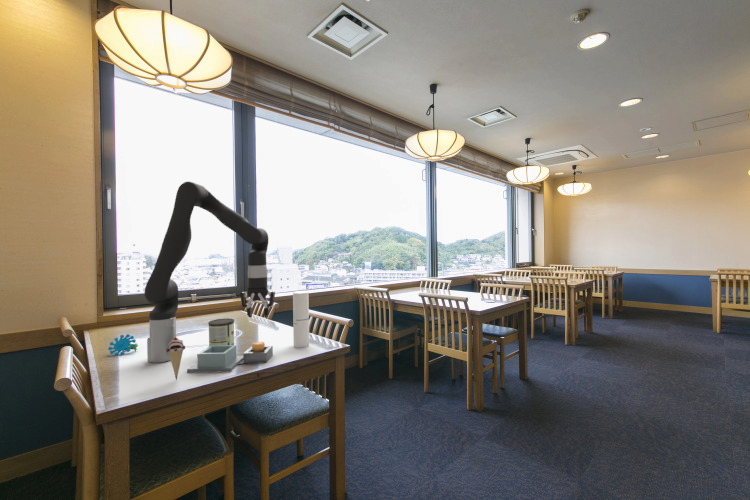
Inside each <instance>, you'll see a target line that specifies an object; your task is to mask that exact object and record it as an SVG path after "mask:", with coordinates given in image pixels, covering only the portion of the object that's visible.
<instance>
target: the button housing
mask: <svg viewBox="0 0 750 500" xmlns="http://www.w3.org/2000/svg"><path fill="white" fill-rule="evenodd" d="M273 347H274V346H273V345H265V350H264V351H263V352H252V346H250V347H249V348H247V350H244V352H243V353H242V354H243V355H242V356H243V358H244V360H243V364H265V363H267V362H268V361H269V360H271V358H272V357H273V355H274V353H273V352H274V351H273V350H274V349H273Z"/></svg>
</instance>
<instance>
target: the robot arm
mask: <svg viewBox="0 0 750 500" xmlns="http://www.w3.org/2000/svg"><path fill="white" fill-rule="evenodd" d="M195 207H198V208H200V209H203V210H204V211H207V212H209V213H210V214H211V215H212V216H214V217H215V218H216V219H217V220H218V221H219V222H220V223H221V224H223V226H225V227H226V228H228V229H230V230H231V231H232V232H235V233H236V234H237V235H238V237H240V238H241V239H242V240H243V241H245V242H246V243H248V244H249V245H251V251H249V253H248V259H247V261H248V262H247V263H248V267H247V268H248V269H247V291H242V292H240V293H239V296H240V301H241V307H243V308H246V315H247V316H248V318H252V317H253V307H252V306H253V304H254V303H255V302H257V301H258V302H261V304H262V305H263V307H264V308H263V316H264V318H267V317H268V316H269V314H270V307H272V306H274V304H275V295H276V291H270V290H269V289H268V269H267V253H268V248H269V247H268V246H269V234H268V232H267V231H266V229H264V228H261V227H256V226H255V225H253V224H252V223H250V222H249V220H248V219H247V218H246V217H244V216H242V215H241V214H240V213H238V212H236V211H235V210H233V209H232V208H230V207H229V206H227V205H226V204H224V203H223V202H221V201H220V200H219V199H218V198H216V197H215V195H213V194H212V193H211V192H210V191H209V190H208V189H207V188H206V187H205V186H203V185H201V184H198V183H196V182H192V181H184V182H183V183H182V184H180V185H179V187H178V189H177V191H176V196H175V199H174V205H173V211H172V213H171V217H170V220H169V223H168V226H167V230H166V232H165V235H164V237H163V240H162V244H161V247H160V250H159V254H158V257H157V259H156V262H155V265H154V267H153V270H152V272H151V274H150V276H149V278H148V280H147V282H146V285H145V288H144V297H145V299H146V301H147V302H148V303H151V304H155V306H154V308H153V309H152V310H151V311H150V312H149V313H148V314H149V315H148V316H149V317H148V319H149V321H148V322H149V324H148V325H149V337H147V339H146V340H147V341H146V347H147V349H146V351H147V353H146V354H147V358H146V359H147V362H150V363H153V364H154V363H159V364H160V363H164V362H170V361H171V359H170V355H169V352H167V351H166V349H167V348H168V344H169V343H170V341H172V340H174V338H177V316H176V315H177V311H178V309H179V288H178V287H179V286H178V284H177V283H176V281H175V280H173V279H171V277H172V275H173V273H174V271H175V270H176V269H177V267H178V265H179V264H180V263H181V262H182V261H183V260H184V258H185V256H186V255H187V253H188V250H189V248H190V244H191V241H192V227H191V218H192V213H193V211H194V208H195ZM267 295H268V297H269V301H268V299H267ZM247 296H248V297H249V299H248V302H247Z"/></svg>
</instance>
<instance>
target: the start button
mask: <svg viewBox="0 0 750 500" xmlns="http://www.w3.org/2000/svg"><path fill="white" fill-rule="evenodd" d="M251 345H252V352H263V351H264V350H265V346H266V345H265V342H264V341H256V342H253V343H252V344H251Z"/></svg>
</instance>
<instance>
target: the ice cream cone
mask: <svg viewBox="0 0 750 500" xmlns="http://www.w3.org/2000/svg"><path fill="white" fill-rule="evenodd" d="M185 349H186V346H185V345H184V340H181V339H179V338H178V337H176V338H174V340H172V341H170V343H169V344H168V348H167V349H166V351H167V352H169V355H170V359H171V360H170V361H171V365H172V369H173V372H174V376H175V380H176V381H177V379H178V375H179V371H180V365H181V361H182V356H183V353H184V350H185Z"/></svg>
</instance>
